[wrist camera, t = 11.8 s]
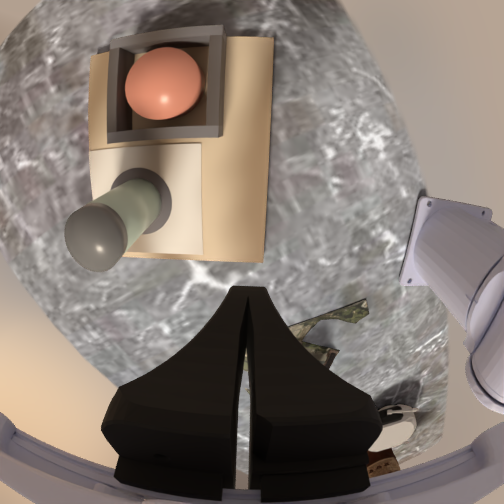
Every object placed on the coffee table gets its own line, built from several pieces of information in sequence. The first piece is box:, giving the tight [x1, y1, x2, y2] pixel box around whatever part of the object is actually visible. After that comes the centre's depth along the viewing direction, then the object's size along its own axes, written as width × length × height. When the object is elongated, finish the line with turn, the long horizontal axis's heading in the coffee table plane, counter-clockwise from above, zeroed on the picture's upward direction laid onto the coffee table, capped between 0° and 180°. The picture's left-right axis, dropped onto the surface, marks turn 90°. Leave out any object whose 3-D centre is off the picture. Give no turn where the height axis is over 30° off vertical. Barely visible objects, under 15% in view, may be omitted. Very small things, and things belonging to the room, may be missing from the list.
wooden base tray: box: [88, 25, 274, 263], centre depth 17 cm, size 13×16×3 cm
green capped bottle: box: [65, 178, 162, 272], centre depth 16 cm, size 4×4×7 cm
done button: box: [125, 47, 205, 120], centre depth 14 cm, size 5×5×2 cm
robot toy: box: [369, 404, 419, 452], centre depth 32 cm, size 12×4×15 cm
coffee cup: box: [366, 448, 400, 478], centre depth 33 cm, size 9×8×13 cm
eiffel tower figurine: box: [243, 299, 369, 394], centre depth 21 cm, size 15×10×13 cm
